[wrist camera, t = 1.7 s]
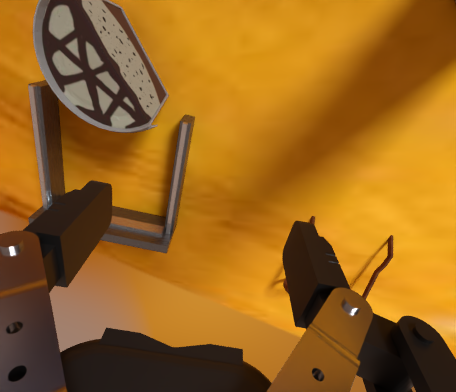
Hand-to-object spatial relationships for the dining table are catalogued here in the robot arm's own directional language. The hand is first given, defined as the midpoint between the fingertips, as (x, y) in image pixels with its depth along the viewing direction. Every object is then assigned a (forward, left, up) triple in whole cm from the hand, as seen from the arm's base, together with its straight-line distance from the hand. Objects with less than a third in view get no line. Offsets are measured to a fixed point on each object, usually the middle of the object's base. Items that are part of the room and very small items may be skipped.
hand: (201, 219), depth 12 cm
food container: (-1, -12, -23) cm, 26 cm away
